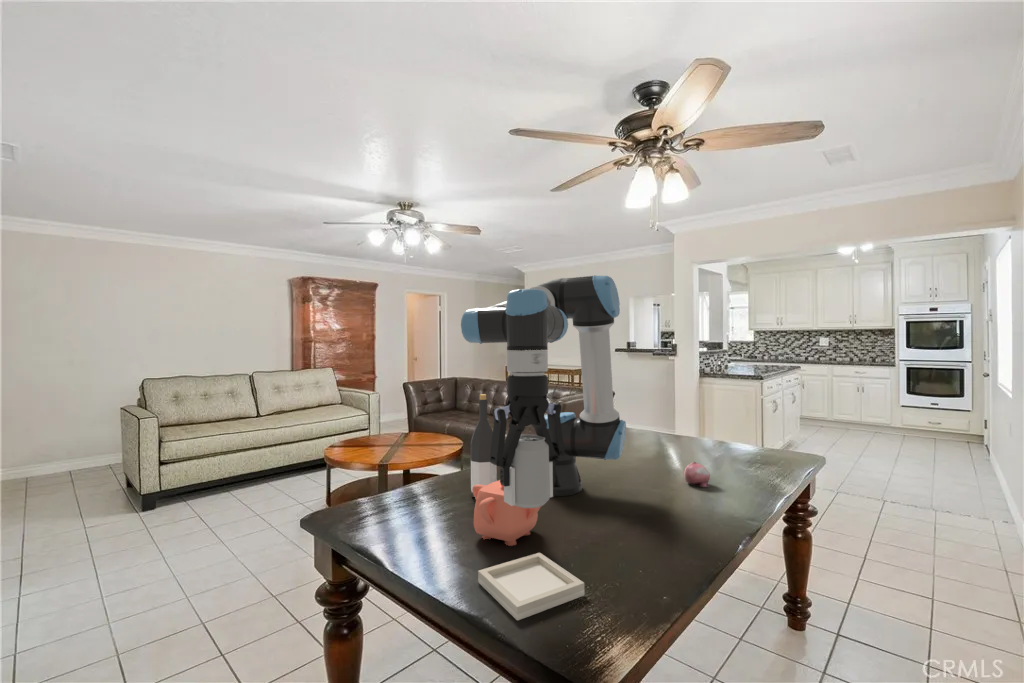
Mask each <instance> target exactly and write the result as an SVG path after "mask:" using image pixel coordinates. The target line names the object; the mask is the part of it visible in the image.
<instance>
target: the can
mask: <svg viewBox="0 0 1024 683" xmlns="http://www.w3.org/2000/svg"><path fill="white" fill-rule="evenodd" d="M511 467H514V468H515V506H517V507H521V508H537V507H541V508H542V507H543V506H545V505H546V503H548V501H549V500H550V497H549V445H548V444H547V443H546V442H545V437H541V436H538V435H537V434H521V436H520V439H519V441H518V445H517V448H516V450H515V455H514V458H513V461H512V464H511Z"/></svg>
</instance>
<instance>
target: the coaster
mask: <svg viewBox="0 0 1024 683" xmlns="http://www.w3.org/2000/svg"><path fill="white" fill-rule="evenodd" d="M477 577H478V578H477V581H478V582H477V583H478V584H479V585H480V586H481V587H482V588H483V589H484V590H486V592H488V593H489V595H491V597H492V598H493V599H495V600H496V601H497V602H498V604H499V605H500V606H502V607H503V608H504V610H506V611H507V612H508V613H509V615H511V616H512V617H513V618H514V619H515V620H516V621H520V620H523V619H525V618H528V617H531V616H533V615H536V614H539V613H542V612H545V611H547V610H550V609H553V608H554V607H558V606H560V605H562V604H565V603H569V602H570V601H571V602H572V601H573V600H575V599H579V598H581V597H584V596H585V593H586V592H585V582H584V581H583V580H580V579H579V578H578V577H576V576H575V575H573V574H572V573H570V572H569V571H567V570H566V569H565V568H563V567H561V565H559V564H557V563H556V562H555V561H553V560H551V559H550V558H549V557H547V556H546V555H544V554H543V553H541V552H537V553H533V554H530V555H527V556H522V557H519V558H517V559H512V560H510V561H506V562H502V563H500V564H495V565H492V566H490V567H485V568H483V569H482V568H481V569H480V570H477Z"/></svg>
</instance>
